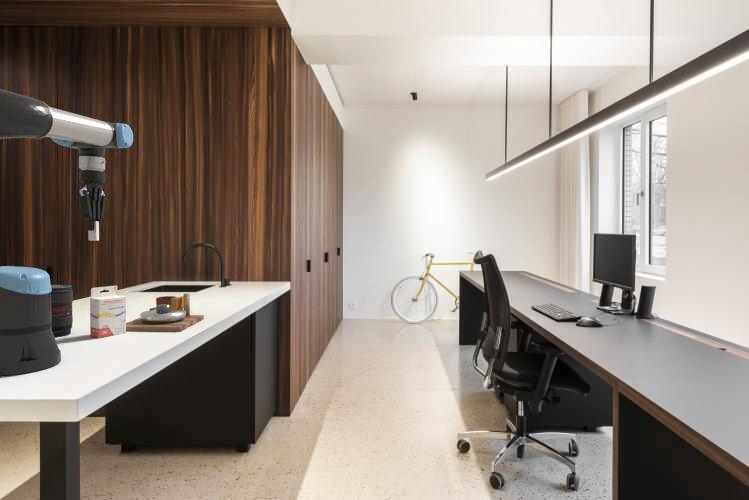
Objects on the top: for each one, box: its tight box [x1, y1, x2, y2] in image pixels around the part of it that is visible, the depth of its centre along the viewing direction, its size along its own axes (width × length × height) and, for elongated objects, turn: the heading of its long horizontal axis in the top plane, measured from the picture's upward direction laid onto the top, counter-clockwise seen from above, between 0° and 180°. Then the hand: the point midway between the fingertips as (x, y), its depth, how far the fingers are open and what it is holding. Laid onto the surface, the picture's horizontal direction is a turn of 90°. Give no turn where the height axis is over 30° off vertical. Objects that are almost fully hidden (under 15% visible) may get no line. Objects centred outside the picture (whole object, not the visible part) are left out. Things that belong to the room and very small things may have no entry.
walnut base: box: [126, 292, 205, 333], centre depth 155 cm, size 20×20×10 cm
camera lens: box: [51, 284, 74, 338], centre depth 139 cm, size 8×8×15 cm
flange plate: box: [140, 295, 186, 322], centre depth 157 cm, size 18×14×6 cm
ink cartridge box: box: [89, 285, 127, 339], centre depth 140 cm, size 9×5×15 cm, turn 150°
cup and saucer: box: [148, 295, 184, 311], centre depth 176 cm, size 12×12×6 cm
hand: (93, 240), depth 155 cm, fingers closed
